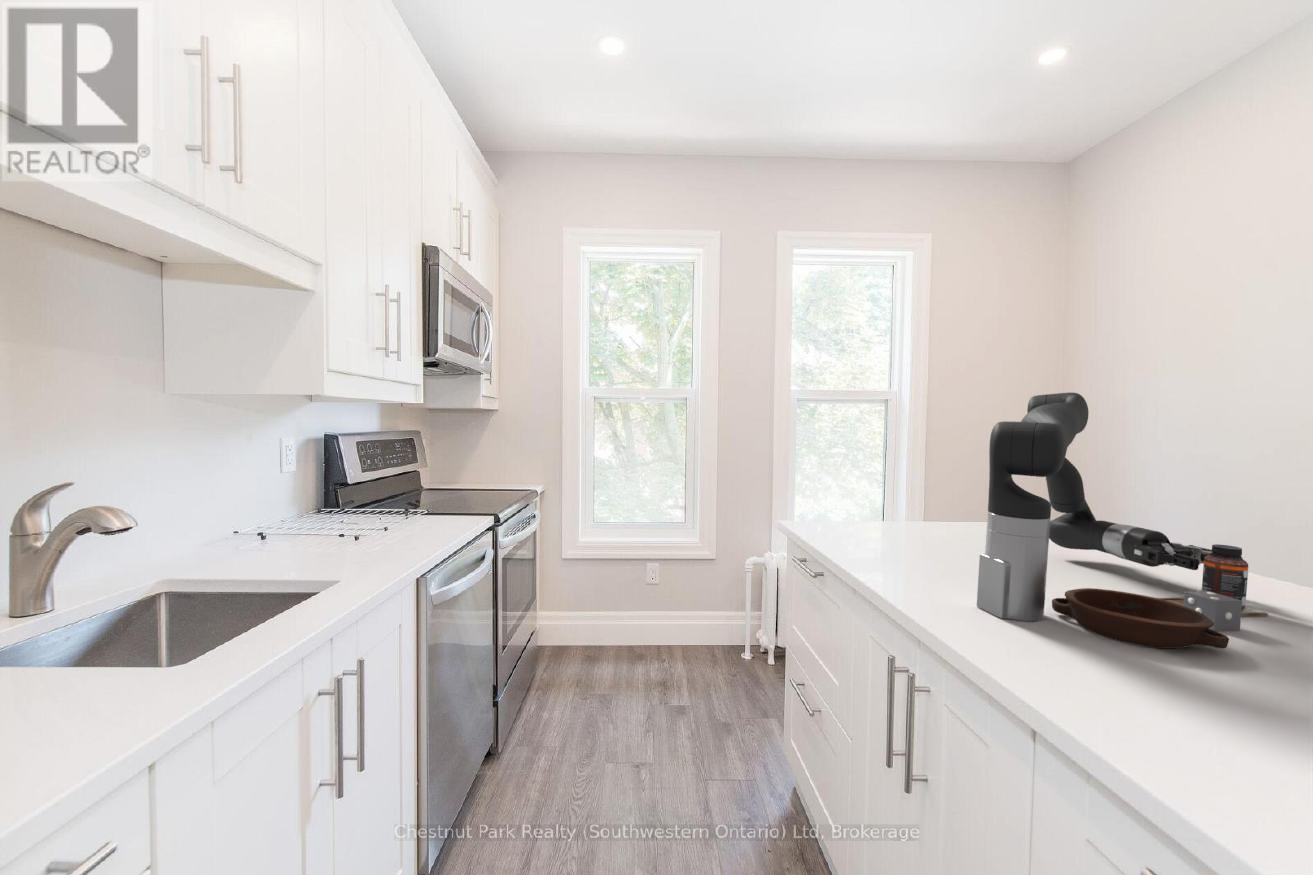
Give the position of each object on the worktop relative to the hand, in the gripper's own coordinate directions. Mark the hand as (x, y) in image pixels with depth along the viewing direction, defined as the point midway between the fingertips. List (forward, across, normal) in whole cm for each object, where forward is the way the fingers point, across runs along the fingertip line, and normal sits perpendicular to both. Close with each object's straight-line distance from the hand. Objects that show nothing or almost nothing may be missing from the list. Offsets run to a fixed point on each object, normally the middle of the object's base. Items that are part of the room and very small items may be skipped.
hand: (1216, 564), depth 109 cm
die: (+10, -13, +8) cm, 18 cm away
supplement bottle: (+2, 0, +8) cm, 8 cm away
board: (+2, -7, +8) cm, 11 cm away
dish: (+12, -31, +8) cm, 34 cm away
